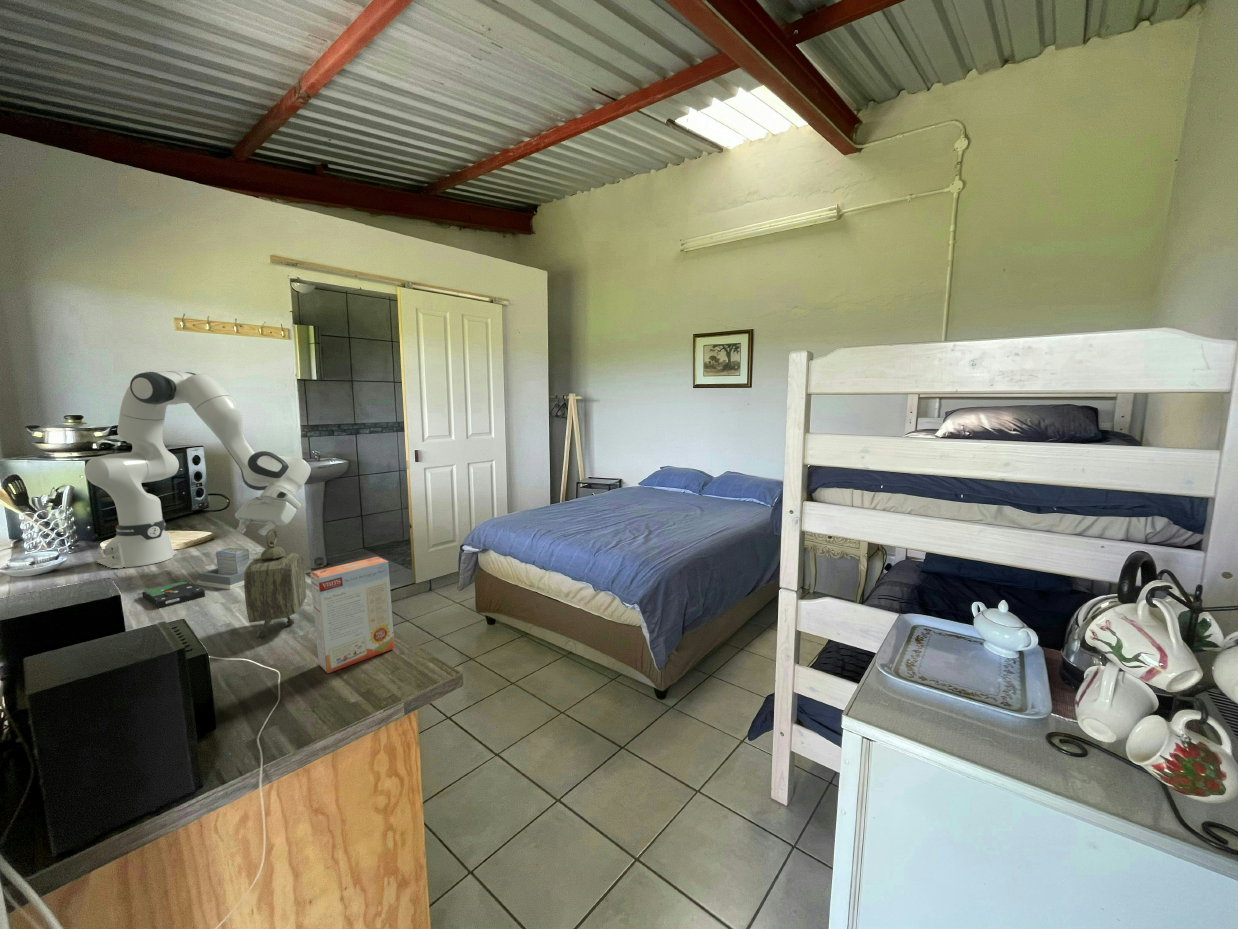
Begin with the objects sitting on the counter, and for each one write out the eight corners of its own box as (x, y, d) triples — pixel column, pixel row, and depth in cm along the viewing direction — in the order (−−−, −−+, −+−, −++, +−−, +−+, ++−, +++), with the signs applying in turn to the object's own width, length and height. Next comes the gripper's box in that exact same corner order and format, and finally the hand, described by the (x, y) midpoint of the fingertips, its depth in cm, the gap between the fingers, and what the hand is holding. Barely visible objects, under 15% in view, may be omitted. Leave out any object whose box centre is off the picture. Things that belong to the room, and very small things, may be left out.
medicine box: (251, 575, 155) (249, 548, 154) (238, 579, 151) (235, 553, 150) (231, 573, 157) (229, 547, 156) (218, 578, 153) (215, 551, 152)
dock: (196, 584, 150) (195, 573, 149) (242, 570, 163) (241, 560, 163) (230, 589, 146) (229, 578, 145) (274, 574, 159) (273, 563, 159)
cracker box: (384, 641, 114) (378, 555, 111) (395, 649, 110) (390, 560, 107) (316, 664, 103) (309, 570, 101) (326, 675, 99) (318, 577, 97)
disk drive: (206, 598, 141) (187, 588, 148) (206, 589, 140) (186, 579, 148) (159, 611, 132) (141, 599, 140) (158, 601, 132) (140, 589, 139)
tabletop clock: (269, 617, 126) (260, 524, 123) (309, 612, 130) (301, 521, 127) (249, 642, 113) (239, 538, 110) (294, 636, 116) (286, 534, 113)
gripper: (246, 491, 167) (218, 526, 158) (292, 494, 161) (266, 530, 153) (260, 502, 171) (234, 535, 163) (305, 505, 166) (280, 540, 158)
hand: (250, 533), depth 158 cm, fingers open, 8 cm apart
